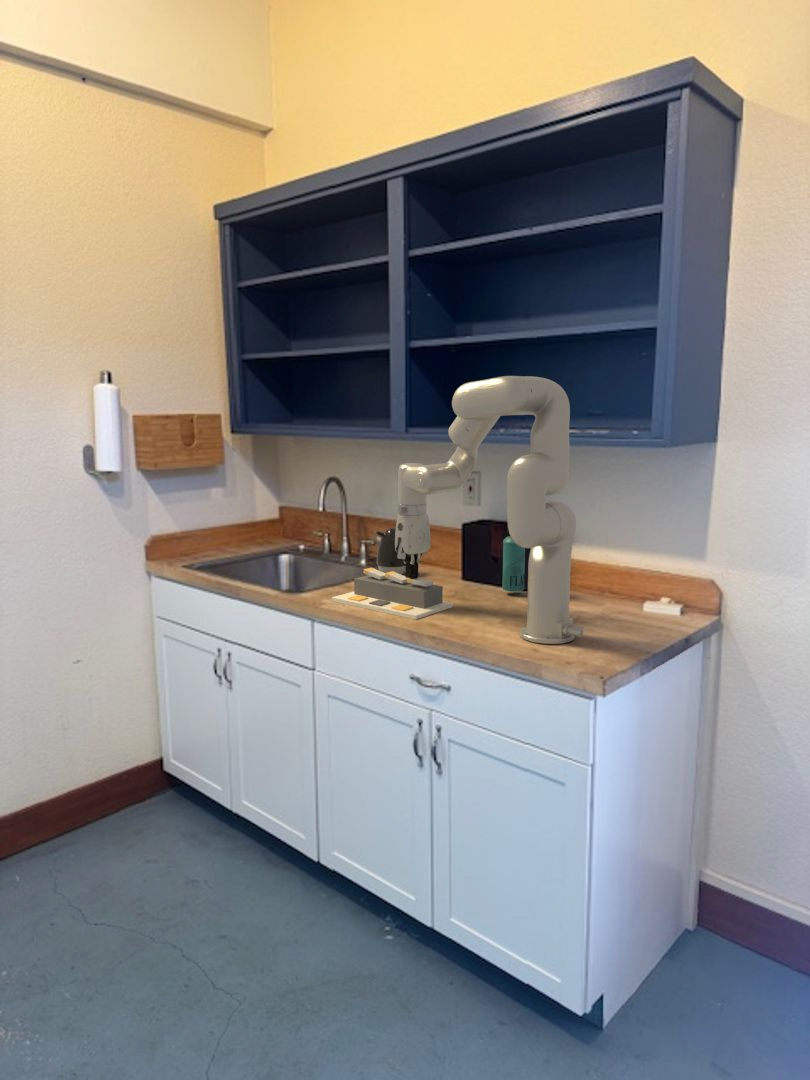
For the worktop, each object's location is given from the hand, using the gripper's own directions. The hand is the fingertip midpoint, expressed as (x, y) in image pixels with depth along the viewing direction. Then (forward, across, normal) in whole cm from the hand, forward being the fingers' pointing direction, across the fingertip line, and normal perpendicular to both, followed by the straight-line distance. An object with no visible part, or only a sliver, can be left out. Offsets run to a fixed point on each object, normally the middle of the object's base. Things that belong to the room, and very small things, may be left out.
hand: (411, 577), depth 204 cm
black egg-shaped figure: (+8, +26, +29) cm, 39 cm away
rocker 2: (+1, 0, -3) cm, 3 cm away
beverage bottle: (+8, +28, -15) cm, 32 cm away
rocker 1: (+1, 0, +13) cm, 13 cm away
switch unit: (+8, -2, +5) cm, 9 cm away
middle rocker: (+1, 0, +5) cm, 5 cm away
